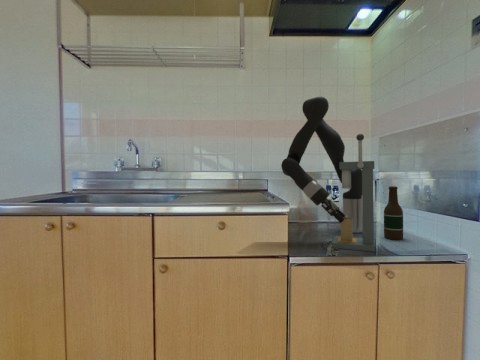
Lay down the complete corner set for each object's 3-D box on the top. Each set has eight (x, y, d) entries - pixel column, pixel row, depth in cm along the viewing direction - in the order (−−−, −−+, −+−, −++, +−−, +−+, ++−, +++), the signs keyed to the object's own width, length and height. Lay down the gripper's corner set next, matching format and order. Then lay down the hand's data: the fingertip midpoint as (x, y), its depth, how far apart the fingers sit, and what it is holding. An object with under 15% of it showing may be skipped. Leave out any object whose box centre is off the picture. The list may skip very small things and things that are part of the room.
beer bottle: (392, 240, 119) (392, 186, 118) (380, 236, 126) (379, 186, 126) (407, 239, 120) (407, 186, 120) (394, 235, 128) (393, 186, 127)
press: (335, 240, 121) (334, 139, 120) (374, 243, 114) (373, 136, 113) (331, 247, 109) (330, 135, 108) (375, 251, 102) (374, 131, 101)
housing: (341, 238, 115) (341, 214, 115) (352, 238, 113) (352, 215, 113) (340, 240, 111) (340, 216, 111) (352, 241, 109) (352, 216, 109)
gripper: (319, 187, 110) (349, 216, 105) (324, 185, 123) (351, 211, 118) (306, 199, 112) (335, 228, 107) (312, 197, 125) (338, 222, 120)
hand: (343, 219), depth 113 cm, fingers open, 8 cm apart
